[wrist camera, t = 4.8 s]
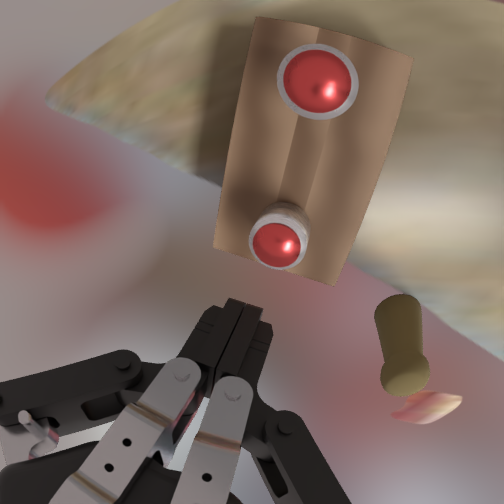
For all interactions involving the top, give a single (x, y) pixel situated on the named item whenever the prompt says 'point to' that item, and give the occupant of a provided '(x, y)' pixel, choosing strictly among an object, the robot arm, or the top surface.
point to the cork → (401, 345)
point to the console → (308, 147)
